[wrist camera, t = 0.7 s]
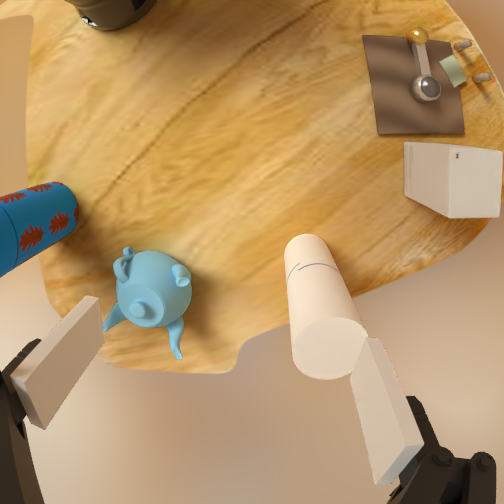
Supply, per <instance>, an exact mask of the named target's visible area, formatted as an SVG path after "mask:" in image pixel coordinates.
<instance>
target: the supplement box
mask: <svg viewBox="0 0 504 504" xmlns="http://www.w3.org/2000/svg"><path fill="white" fill-rule="evenodd" d="M502 169H503V152H502V151H497V150H491V149H485V148H478V147H470V146H462V145H453V144H442V143H426V142H404V195H405V196H406V197H408V198H410V199H412V200H415V201H416V202H419V203H420V204H422V205H424V206H426V207H428V208H430V209H432V210H434V211H436V212H438V213H440V214H442V215H444V216H445V217H447V218H449V219H455V218H497V217H498V218H499V214H500V204H501V188H502Z"/></svg>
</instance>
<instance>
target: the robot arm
mask: <svg viewBox="0 0 504 504" xmlns="http://www.w3.org/2000/svg"><path fill="white" fill-rule="evenodd" d="M65 1H67V2H69V3H71V4H73V5H74V6H75V8H76V10H77V12H78V13H79V15H80V17H81V19H82V20H83V21H84V22H85V23H86V24H88V25H89V26H91V27H93V28H95V29H98V30H102V31H113V30H118V29H121V28H124V27H126V26H129V25H131V24H132V23H134V22H136V21H137V20H139V19H140V18H141V17H143V16H144V15H145V14H146V13H147V12H148V11H149V10H150V9H151V8H152V6H153V5H154V4H155V2H156V1H157V0H65ZM104 343H105V341H104V334H103V327H102V319H101V310H100V301H99V298H97V297H93V296H88V295H86V296H85V297H84V298H83V299H82V300H81V301H80V302H79V303H78V304H77V305H76V306H75V307H74V308H73V309H72V310H71V311H70V312H69V313H68V314H67V315H66V316H65V317H64V318H63V319H62V320H61V321H60V322H59V323H58V324H57V325H56V326H55V327H54V328H53V329H52V330H51V331H50V333H48V335H47V336H46V337H45V338H44V339H43V340H41V339H38V338H37V339H35V340H34V341H32V342H30V343H28V344H27V345H26V346H25V347H24V348H23V349H22V352H21V351H20V352H19V353H18V355H17V357H15V358H14V359H13V360H12V361H11V362H10V363H9V364H8V365H7V366H6V367H5V369H4V370H3V371H2V372H1V371H0V504H45V503H44V500H43V497H42V494H41V490H40V487H39V484H38V480H37V477H36V473H35V469H34V465H33V461H32V457H31V453H30V448H29V444H28V438H27V433H26V428H25V424H24V421H23V419H24V417H25V416H26V415H27V416H28V418H29V420H30V422H31V424H33V425H35V426H38V427H40V428H42V429H44V430H45V429H46V428H47V426H48V425H49V423H50V421H51V420H52V418H53V417H54V415H55V414H56V412H57V411H58V409H59V408H60V406H61V405H62V403H63V402H64V400H65V399H66V397H67V396H68V394H69V393H70V391H71V390H72V388H73V387H74V385H75V384H76V382H77V381H78V379H79V378H80V377H81V375H82V374H83V372H84V371H85V369H86V368H87V366H88V365H89V364H90V362H91V361H92V359H93V358H94V356H95V355H96V354H97V352H98V351H99V350H100V348H101V347H102V345H103V344H104ZM350 383H351V387H352V390H353V394H354V397H355V402H356V406H357V410H358V414H359V418H360V422H361V426H362V430H363V434H364V438H365V442H366V447H367V452H368V456H369V460H370V465H371V469H372V474H373V479H374V483H375V485H382V484H392V483H393V482H394V481H395V479H396V478H397V477H398V476H399V479H400V485H399V486H398V487H397V488H396V489H395V490H394V491H393V492H392V493H391V494H390V495H389V496H391V498H390V499H389V501H388V502H387V504H496V463H495V460H494V459H493V457H492V456H491V455H489V454H488V453H485V452H478V453H475V454H474V456H473V457H472V458H471V459H463V458H455V457H454V455H453V454H452V453H451V451H450V450H448V449H447V448H444V447H441V446H440V445H439V443H438V440H437V438H436V435H435V433H434V431H433V428H432V426H431V424H430V422H429V421H428V417H427V415H426V414H425V413H426V412H425V410H424V408H423V406H422V403H421V402H420V401H419V400H418V399H417V398H416V397H415V396H405V394H404V392H403V389H402V387H401V385H400V382H399V380H398V378H397V375H396V373H395V372H394V368H393V366H392V364H391V362H390V360H389V357H388V355H387V353H386V351H385V348H384V346H383V344H382V342H381V340H380V338H368V337H366V338H365V341H364V343H363V346H362V349H361V352H360V354H359V357H358V360H357V362H356V365H355V367H354V370H353V372H352V375H351V377H350Z"/></svg>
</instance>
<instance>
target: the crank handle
mask: <svg viewBox="0 0 504 504" xmlns="http://www.w3.org/2000/svg"><path fill="white" fill-rule="evenodd" d="M428 40H429V35H428V33H427V31H426V30H425V29H423V28H421V27H417V28H415V29H413V30H412V31H411V32H409V33H408V34H407V35H406V41H407V43H408V44H409V45H410V46H412V50H413V55H414V60H415V65H416V70H417V76H418V77H417V78H414V79H413V80H412V81H411V83H410V92H411V94H412V96H413V97H414V98H415V99H416V100H418V101H420V102H426V101H431V100H436V99H437V98H438V97H439V96H440V93H441V87H440V84H439V82H438V80H437V79H436V78H435V77H433V76H432V75H431V73H430V67H429V62H428V57H427V52H426V48H425V43H426V42H427V41H428Z"/></svg>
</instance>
